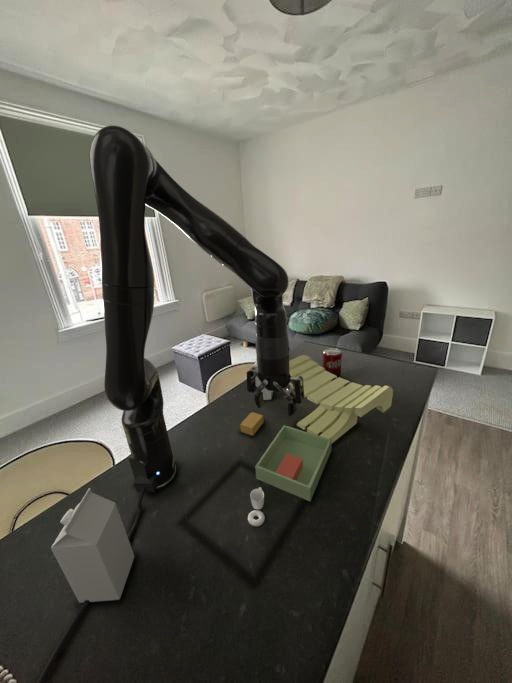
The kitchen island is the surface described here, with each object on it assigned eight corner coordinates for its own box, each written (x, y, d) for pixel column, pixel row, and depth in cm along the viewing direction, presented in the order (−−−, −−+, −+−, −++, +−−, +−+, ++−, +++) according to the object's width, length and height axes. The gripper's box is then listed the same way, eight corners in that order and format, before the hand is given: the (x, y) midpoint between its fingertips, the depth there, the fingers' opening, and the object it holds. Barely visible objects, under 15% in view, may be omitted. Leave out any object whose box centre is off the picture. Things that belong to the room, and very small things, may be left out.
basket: (310, 503, 63) (310, 488, 62) (256, 479, 70) (255, 466, 68) (331, 452, 77) (331, 439, 75) (284, 437, 84) (283, 425, 82)
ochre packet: (253, 437, 85) (252, 428, 83) (240, 432, 87) (240, 424, 86) (263, 423, 90) (263, 415, 89) (252, 419, 92) (251, 411, 91)
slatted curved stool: (387, 435, 82) (394, 382, 75) (356, 464, 72) (362, 407, 66) (308, 395, 103) (308, 352, 97) (277, 414, 94) (275, 367, 88)
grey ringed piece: (260, 535, 58) (259, 521, 56) (231, 514, 62) (230, 502, 61) (282, 503, 64) (282, 490, 63) (255, 486, 69) (254, 474, 67)
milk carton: (135, 556, 55) (110, 486, 48) (119, 600, 48) (88, 527, 41) (99, 559, 55) (69, 489, 48) (79, 604, 48) (40, 530, 41)
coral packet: (292, 489, 66) (291, 479, 65) (275, 482, 68) (275, 472, 67) (302, 468, 72) (302, 458, 71) (286, 462, 74) (286, 453, 73)
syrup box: (271, 400, 102) (269, 365, 97) (255, 399, 103) (252, 364, 98) (273, 392, 107) (271, 358, 102) (258, 391, 108) (256, 357, 103)
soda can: (319, 375, 117) (319, 349, 112) (334, 372, 119) (335, 346, 114) (328, 383, 110) (329, 356, 106) (344, 380, 112) (345, 353, 108)
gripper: (237, 353, 64) (243, 412, 70) (296, 363, 57) (297, 426, 63) (253, 341, 70) (257, 396, 76) (307, 349, 63) (307, 408, 69)
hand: (275, 410), depth 70 cm, fingers open, 8 cm apart
